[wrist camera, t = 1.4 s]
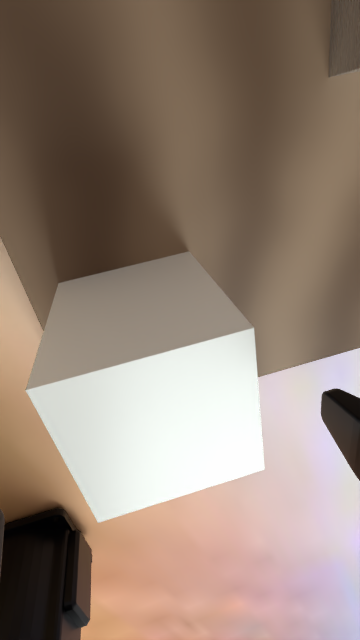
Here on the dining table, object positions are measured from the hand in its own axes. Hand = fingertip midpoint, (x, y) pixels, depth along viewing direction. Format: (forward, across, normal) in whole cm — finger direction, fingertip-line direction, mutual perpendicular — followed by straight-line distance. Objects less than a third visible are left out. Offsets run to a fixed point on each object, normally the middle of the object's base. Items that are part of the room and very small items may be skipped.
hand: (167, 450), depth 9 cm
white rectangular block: (+7, 0, 0) cm, 7 cm away
